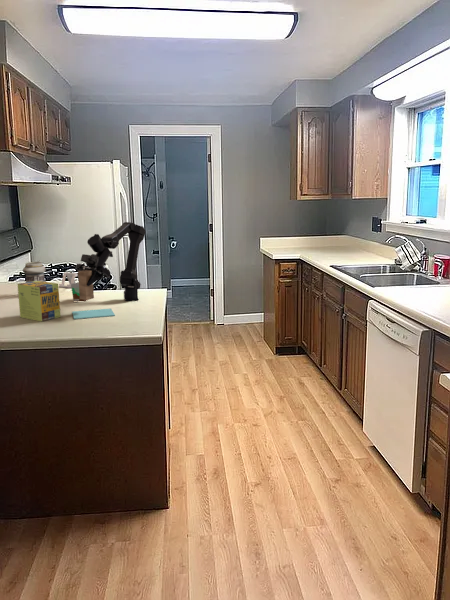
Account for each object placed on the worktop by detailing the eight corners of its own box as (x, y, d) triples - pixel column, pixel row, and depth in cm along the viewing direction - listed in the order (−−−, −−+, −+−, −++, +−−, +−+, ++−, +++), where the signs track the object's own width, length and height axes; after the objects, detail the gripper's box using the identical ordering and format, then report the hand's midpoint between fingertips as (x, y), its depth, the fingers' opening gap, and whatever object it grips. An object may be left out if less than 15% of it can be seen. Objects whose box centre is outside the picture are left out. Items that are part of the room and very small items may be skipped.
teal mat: (111, 309, 244) (110, 308, 244) (114, 315, 231) (114, 314, 231) (72, 312, 238) (72, 311, 238) (74, 319, 225) (73, 318, 225)
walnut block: (87, 297, 238) (85, 269, 236) (93, 298, 236) (92, 270, 233) (79, 298, 235) (77, 271, 232) (86, 300, 232) (84, 272, 229)
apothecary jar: (20, 296, 277) (17, 263, 273) (35, 292, 288) (33, 260, 284) (37, 297, 272) (34, 264, 268) (52, 293, 283) (50, 261, 279)
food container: (83, 303, 258) (81, 284, 256) (72, 302, 259) (70, 283, 257) (94, 298, 270) (92, 279, 268) (83, 298, 271) (82, 279, 269)
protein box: (42, 321, 222) (39, 287, 218) (19, 317, 230) (16, 283, 226) (61, 316, 230) (58, 283, 227) (39, 312, 238) (36, 280, 235)
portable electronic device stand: (59, 287, 301) (58, 273, 300) (68, 285, 308) (67, 271, 307) (70, 288, 298) (69, 274, 296) (79, 286, 305) (78, 272, 303)
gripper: (76, 246, 239) (59, 272, 232) (104, 248, 228) (87, 276, 222) (90, 261, 247) (74, 287, 240) (118, 264, 237) (101, 291, 230)
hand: (83, 285), depth 233 cm, fingers closed on walnut block, 4 cm apart
